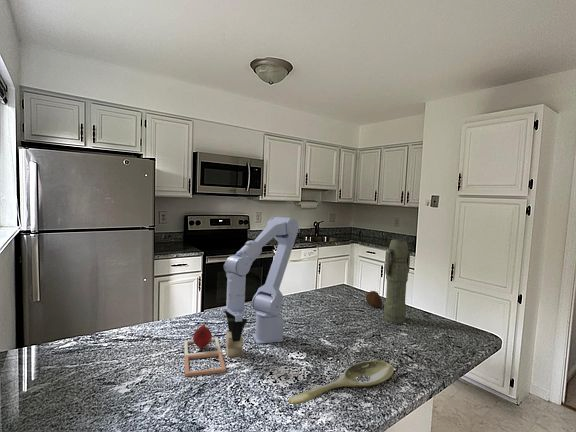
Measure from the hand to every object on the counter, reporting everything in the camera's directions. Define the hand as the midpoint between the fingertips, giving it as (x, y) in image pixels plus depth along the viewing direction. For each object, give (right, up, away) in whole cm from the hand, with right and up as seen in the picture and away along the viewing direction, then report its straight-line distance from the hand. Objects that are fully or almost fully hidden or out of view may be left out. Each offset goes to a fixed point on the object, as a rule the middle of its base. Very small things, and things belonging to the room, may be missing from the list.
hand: (234, 335), depth 105 cm
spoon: (+32, -8, -15) cm, 37 cm away
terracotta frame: (-7, -6, -8) cm, 12 cm away
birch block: (0, -6, 0) cm, 6 cm away
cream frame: (-11, -5, +2) cm, 12 cm away
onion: (-11, -5, +2) cm, 12 cm away
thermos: (+63, -7, +37) cm, 73 cm away
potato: (+59, -6, +56) cm, 82 cm away
